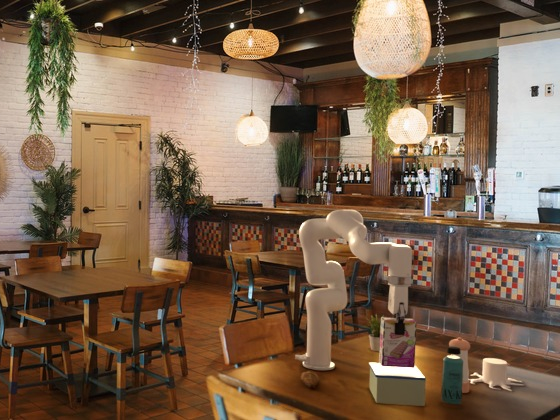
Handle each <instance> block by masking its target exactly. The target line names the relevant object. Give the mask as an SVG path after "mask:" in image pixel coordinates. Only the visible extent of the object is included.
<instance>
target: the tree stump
mask: <svg viewBox="0 0 560 420" xmlns="http://www.w3.org/2000/svg"><path fill="white" fill-rule="evenodd" d="M508 365H511V364H510V363H508V362H507V361H506V360H503V359H500V358H494V357H493V358H492V357H485V358H482V373H481V374H482V375H481V374H479V372H473V374H469V377H478V378H469V379H468V381H469V382H470V384H472V385H475V386H476V383H484V384H487V385H488V387H489V388H490V389H493V390H499V391H500V390H502V389H503V390H507V391H509V392H513V389H511V386H521V387H522V386H525V384H523V381H521V380H517V379H515V378H511V377H508V378H507V376H508V375H507V374H508ZM497 386H498V387H501V388H502V389H501V388H498V387H497ZM496 387H497V388H496Z"/></svg>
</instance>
